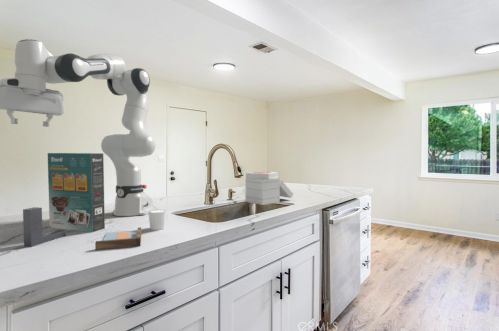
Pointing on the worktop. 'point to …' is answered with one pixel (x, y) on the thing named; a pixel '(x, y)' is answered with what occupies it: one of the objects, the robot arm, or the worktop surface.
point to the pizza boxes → (265, 188)
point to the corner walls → (119, 242)
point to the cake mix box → (76, 191)
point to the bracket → (36, 228)
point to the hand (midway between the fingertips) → (30, 125)
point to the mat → (120, 236)
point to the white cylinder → (157, 219)
